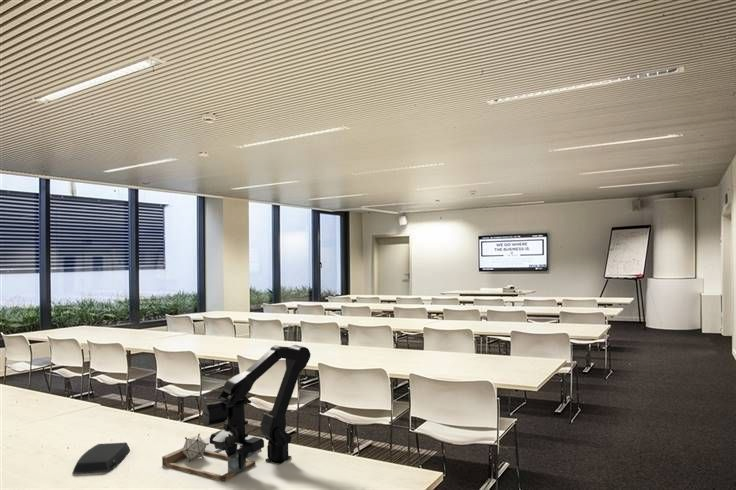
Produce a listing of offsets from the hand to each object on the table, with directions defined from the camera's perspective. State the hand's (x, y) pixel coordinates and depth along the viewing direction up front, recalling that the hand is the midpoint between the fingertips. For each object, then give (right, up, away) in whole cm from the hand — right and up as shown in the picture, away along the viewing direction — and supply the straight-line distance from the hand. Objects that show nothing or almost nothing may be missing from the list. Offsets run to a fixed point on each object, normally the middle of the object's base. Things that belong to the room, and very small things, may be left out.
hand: (236, 467), depth 172 cm
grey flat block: (-10, -2, +20) cm, 22 cm away
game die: (-17, -2, +12) cm, 21 cm away
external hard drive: (-49, -4, +12) cm, 50 cm away
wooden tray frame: (-11, -2, +6) cm, 13 cm away
